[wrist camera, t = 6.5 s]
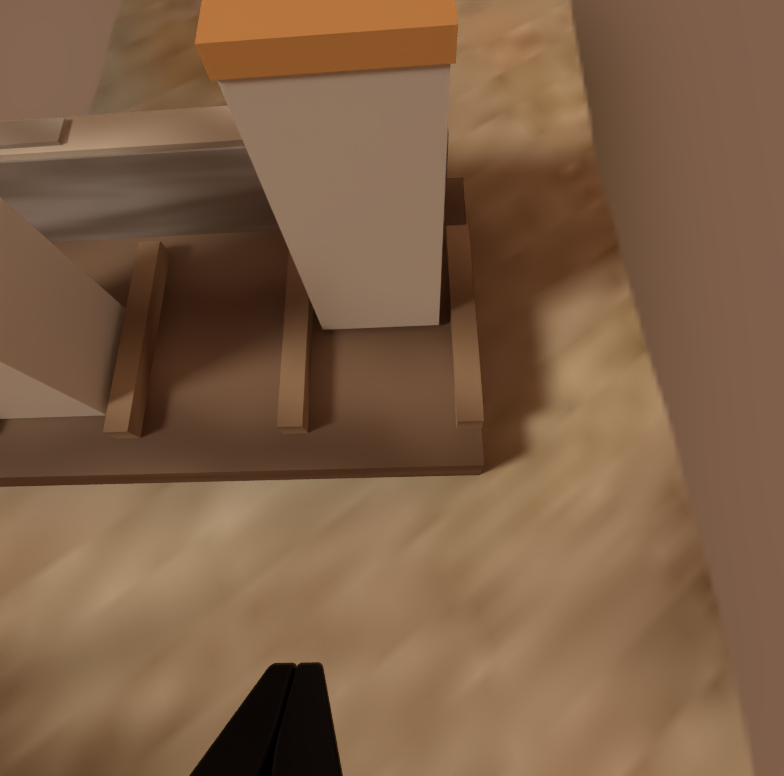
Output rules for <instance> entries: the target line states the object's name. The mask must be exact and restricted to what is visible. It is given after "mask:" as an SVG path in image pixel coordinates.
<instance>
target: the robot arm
mask: <svg viewBox="0 0 784 776" xmlns="http://www.w3.org/2000/svg"><path fill="white" fill-rule="evenodd" d="M190 776H343V774H342V768H341V763H340V757H339V752H338V746H337V741H336V735H335V730H334V724H333V719H332V713H331V707H330V702H329V696H328V691H327V685H326V680H325V674H324V669H323V665H322V664H321V663H319V662H312V663H300V664H298V666H297V665H296V664H295V663H274V664H272V665H270V666H269V667H268V669H267V670H266V671H265V673H264V674H263V675H262V677H261V678H260V680H259V681H258V682H257V684H256V685H255V686H254V688H253V689H252V691H251V692H250V693H249V695H248V696H247V697H246V699H245V700H244V702H243V703H242V704H241V706H240V707H239V708H238V710H237V711H236V712H235V714H234V715H233V717H232V718H231V719H230V721H229V722H228V723H227V725H226V726H225V728H224V729H223V730H222V732H221V733H220V734H219V736H218V737H217V739H216V740H215V741H214V743H213V744H212V745H211V747H210V748H209V749H208V751H207V752H206V754H205V755H204V756H203V758H202V759H201V760H200V762H199V763H198V765H197V766H196V767H195V769H194V770H193V771H192V773H191V774H190Z"/></svg>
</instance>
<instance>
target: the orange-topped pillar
mask: <svg viewBox="0 0 784 776" xmlns="http://www.w3.org/2000/svg"><path fill="white" fill-rule="evenodd" d="M457 31H458V20H457V8H456V0H202V4H201V10H200V15H199V21H198V27H197V33H196V39H195V46H196V48H197V50H198V53H199V55H200V57H201V60H202V62H203V64H204V66H205V69H206V71H207V73H208V76H209V78H210V80H217V81H218V83H219V86H220V88H221V90H222V93H223V95H224V98H225V100H226V102H227V105H228V107H229V109H230V112H231V114H232V116H233V119H234V121H235V124H236V126H237V128H238V131H239V133H240V135H241V138H242V140H243V142H244V145H245V147H246V149H247V152H248V154H249V157H250V159H251V161H252V164H253V166H254V168H255V171H256V173H257V175H258V178H259V180H260V183H261V185H262V187H263V190H264V192H265V194H266V197H267V199H268V201H269V204H270V206H271V209H272V211H273V213H274V216H275V218H276V220H277V223H278V225H279V227H280V230H281V232H282V235H283V237H284V239H285V242H286V244H287V246H288V249H289V251H290V253H291V256H292V258H293V261H294V263H295V265H296V268H297V270H298V272H299V275H300V277H301V279H302V282H303V284H304V287H305V289H306V291H307V294H308V296H309V298H310V301H311V303H312V305H313V308H314V310H315V313H316V315H317V317H318V320H319V322H320V324H321V327H322V329H323V330H330V329H354V328H378V327H403V326H427V325H439V310H440V288H441V265H442V243H443V220H444V198H445V175H446V153H447V130H448V108H449V85H450V64H453V63H456V49H457Z"/></svg>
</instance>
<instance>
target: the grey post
mask: <svg viewBox="0 0 784 776" xmlns="http://www.w3.org/2000/svg"><path fill="white" fill-rule="evenodd" d="M125 312H126V309H125V308H124V307H123V306H122V305H121V304H120V303H119V302H118V301H116V300H115V299H114V298H113V297H112V296H111V295H110V294H109V293H108V292H106V291H105V290H104V289H103V288H102V287H101V286H100V285H99V284H97V283H96V282H95V281H94V280H93V279H92V278H91V277H90V276H88V275H87V274H86V273H85V272H84V271H83V270H82V269H81V268H79V267H78V266H77V265H76V264H75V263H74V262H73V261H72V260H70V259H69V258H68V257H67V256H66V255H65V254H64V253H63V252H61V251H60V250H59V249H58V248H57V247H56V246H55V245H54V244H52V243H51V242H50V241H49V240H48V239H47V238H46V237H45V236H43V235H42V234H41V233H40V232H39V231H38V230H37V229H36V228H34V227H33V226H32V225H31V224H30V223H29V222H28V221H27V220H25V219H24V218H23V217H22V216H21V215H20V214H19V213H18V212H17V211H15V210H14V209H13V208H12V207H11V206H10V205H9V204H8V203H6V202H5V201H4V200H3V199H2V198H1V197H0V419H11V418H42V417H73V416H104V415H106V413H107V407H108V402H109V397H110V391H111V386H112V381H113V376H114V370H115V365H116V360H117V354H118V349H119V344H120V338H121V333H122V328H123V322H124V317H125Z"/></svg>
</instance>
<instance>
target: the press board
mask: <svg viewBox="0 0 784 776" xmlns="http://www.w3.org/2000/svg"><path fill="white" fill-rule="evenodd" d="M448 136H449V135H448V130H447V153H446V175H445V198H444V220H443V243H442V265H441V288H440V310H439V325H427V326H403V327H378V328H354V329H330V330H323V329H322V327H321V324H320V322H319V320H318V317H317V315H316V313H315V310H314V308H313V305H312V303H311V301H310V298H309V296H308V294H307V291H306V289H305V287H304V284H303V282H302V279H301V277H300V275H299V272H298V270H297V268H296V265H295V263H294V261H293V258H292V256H291V253H290V251H289V249H288V246H287V244H286V242H285V239H284V237H283V235H282V232H281V230H280V227H279V225H278V223H277V220H276V218H275V216H274V213H273V211H272V209H271V206H270V204H269V201H268V199H267V197H266V194H265V192H264V190H263V187H262V185H261V183H260V180H259V178H258V175H257V173H256V171H255V168H254V166H253V164H252V161H251V159H250V157H249V154H248V152H247V149H246V147H245V145H244V142H243V140H242V138H241V135H240V133H239V131H238V128H237V126H236V124H235V121H234V119H233V116H232V114H231V112H230V109H229V107H228V106H215V107H200V108H185V109H170V110H155V111H140V112H125V113H110V114H95V115H80V116H65V117H50V118H35V119H20V120H6V121H0V197H1V198H2V199H3V200H4V201H5V202H6V203H8V204H9V205H10V206H11V207H12V208H13V209H14V210H15V211H17V212H18V213H19V214H20V215H21V216H22V217H23V218H24V219H25V220H27V221H28V222H29V223H30V224H31V225H32V226H33V227H34V228H36V229H37V230H38V231H39V232H40V233H41V234H42V235H43V236H45V237H46V238H47V239H48V240H49V241H50V242H51V243H52V244H54V245H55V246H56V247H57V248H58V249H59V250H60V251H61V252H63V253H64V254H65V255H66V256H67V257H68V258H69V259H70V260H72V261H73V262H74V263H75V264H76V265H77V266H78V267H79V268H81V269H82V270H83V271H84V272H85V273H86V274H87V275H88V276H90V277H91V278H92V279H93V280H94V281H95V282H96V283H97V284H99V285H100V286H101V287H102V288H103V289H104V290H105V291H106V292H108V293H109V294H110V295H111V296H112V297H113V298H114V299H115V300H116V301H118V302H119V303H120V304H121V305H122V306H123V307H124V308H125V309H126V312H125V317H124V322H123V328H122V333H121V338H120V344H119V349H118V354H117V360H116V365H115V370H114V376H113V381H112V386H111V391H110V397H109V402H108V407H107V413H106V415H104V416H73V417H42V418H11V419H0V487H6V486H47V485H87V484H128V483H169V482H209V481H250V480H291V479H331V478H372V477H413V476H453V475H480V473H481V471H482V469H483V467H484V452H483V439H482V426H483V423H484V411H483V398H482V385H481V372H480V360H479V347H478V334H477V321H476V308H475V295H474V282H473V270H472V257H471V244H470V231H469V225H466V214H465V201H464V188H463V178H451V179H446V178H447V157H448Z"/></svg>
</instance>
